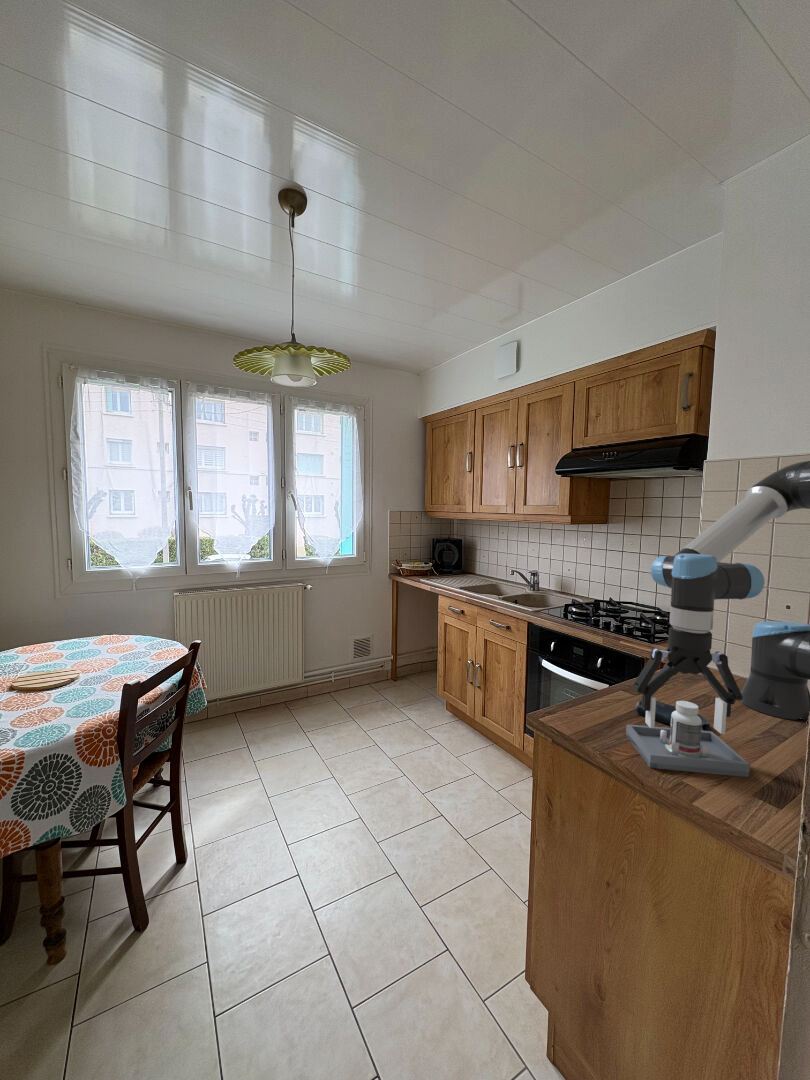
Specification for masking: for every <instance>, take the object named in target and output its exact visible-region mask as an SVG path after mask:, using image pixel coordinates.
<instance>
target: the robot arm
mask: <svg viewBox="0 0 810 1080" xmlns="http://www.w3.org/2000/svg"><path fill="white" fill-rule="evenodd" d="M800 509H801V510H802V509H806V510H809V509H810V460H807V461H800V462H796V463H793V464H790V465H787V466H784V467H783V468H780V469H779V470H776V471H774V472H773V473H771V474H769V475H767V476H765V477H764V478H763V479H761V480H759V481H758V482H757V483H755V484H754V485H753V486H751V487H750V488H749V489H748V490H746V492H745V494H744V498H743V499H742V500H741V501H740V502H738V503H736V505H734V506H733V507H732V508H731V509H730V510H729V511H727V512H726V513H724V514H723V515H722V516H721V517H720V518H718V519H717V520H716V521H715V522H714V523H713V524H711V525H710V526H709V527H708V528H706V529H705V530H704V531H703V532H701V533H700V534H699V535H698V536H696V537H695V538H694V539H693V540H691V542H689V543H688V544H686V545H685V546H684V547H683V548H681V549H680V550H679V551H678V552H677V553H675V554H674V555H673V556H671V555H661V556H658V557H657V558H655V559H654V560H653V562H652V564H651V566H650V575H651V578H652V580H653V581H654V582H655V583H656V584H657V585H660V586H662V587H666V588H669V589H671V593H670V595H671V596H670V610H669V624H670V627H668V639H667V641H668V642H667V643H668V645H667V647H668V648H667V649H666V650H661V649H658V648H656V647H652V648H651V651H650V654H649V655H650V657H649V659H648V661H646V663H645V665H644V667H643V668H642V670H641V672H640V673H639V674H638V676H637V678H636V680H635V681H634V682H633V684H632V687H633V689H634V690H636V692H637V693H639V694H641V700H642V708H643V709H644V710H645V711H646V716H645V719H644V721H645V723H646V726H649V727H650V728H654V727H655V722H656V720H655V707H656V701H657V698H656V696H654V694H656V692H658V690H660V689H661V688H662V687H663V686H664V685H665V684H666V683H667V682H668V681H669V680H670V679H671V678H673V676H676V675H677V674H678V673H681V674H683V675H684V674H693V675H699V674H701V675H702V676H703V677H704V679H705V680H706V681H707V682H708V683H709V684H710V686H711V688H713V690H714V691H715V692H716V694H717V695H718V696H719V697H715V700H714V701H715V702H714V717H713V718H714V719H713V729H714V730H716V731H717V732H718V733H719V734H721V735H726V728H727V727H726V725H727V723H726V722H727V718H730V716H731V712H732V710H731V709H732V705H734V704H735V703H736V701H740V702H741V703H742V704H743V705H745V706H746V707H748V708H750V709H751V710H754V711H756V712H759V713H762V714H764V715H769V716H772V717H778V718H781V719H787V720H794V721H798V720H797V719H800V718H801V719H803V720H802V721H809V720H808V716H809V711H810V689H809V687H808V686H809V685H808V683H809V681H810V624H807V623H802V622H795V621H794V622H792V621H777V620H776V621H770V620H769V621H758V622H757V623H755V624H754V626H753V630H752V631H753V632H752V636H751V638H752V639H751V643H752V644H751V655H750V656H751V659H750V672H749V676H748V677H747V679H746V681H745V683H744V685H743V687H742V689H740V688H739V686H738V683H737V682H736V680H735V677H734V675H733V673H732V671H731V669H730V666H729V658H728V657H729V656H728V655H726V654H724V653H723V652H720V651H719V650H718V651H715V652H714V653H711V649H712V642H713V641H712V640H713V633H711V631H712V630H713V629H714V611H715V600H740V601H741V600H745V599H751V598H752V599H753V598H755V597H757V596H759V595H760V594H761V593H762V592H763V590H764V588H765V576H764V574H763V573H762V571H761V570H760V569H759V568H758V567H757V566H755V565H753V564H750V563H743V562H742V563H741V562H736V563H730V562H728V563H727V562H721V561H723V560H724V559H725V558H727V556H729V555H730V554H731V553H733V551H736V549H737V548H738V547H740V546H741V545H742V544H743V543H744V542H746V540H748V539H749V538H750V537H752V536H753V535H754V534H755V533H756V532H758V531H759V530H760V529H761V528H763V527H764V526H765V525H766V524H768V523H769V522H770V521H771V520H773V519H778V518H782V517H783V516H784V515H785V514H786V513H788V512H791V511H794V510H800ZM665 658H666V659H667V660H668V661H667V662H666V663H665V664H664V665H663V667H662V668H661V669H660V670H659V671H658V672H657V673H656V671H657V670H658V669H659V667H660V665H661V663H662V662H663V661H664V660H665ZM711 662H713V663H714V664H715V666H716V668H717V669H718V673H719V674H720V676H721V679H722V681H723V683H724V685H725V687H726V689H725V688H724V686H723V685H722V684H721V682H720V681H719V680H718V679H717V678H716V676H715V675H714V673H713V672H712V670H711V669H710V668H709V667H708V665H709V664H710V663H711ZM655 673H656V674H655ZM805 719H806V720H805Z"/></svg>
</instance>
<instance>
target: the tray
mask: <svg viewBox="0 0 810 1080" xmlns="http://www.w3.org/2000/svg"><path fill="white" fill-rule="evenodd" d="M625 729H626V730H625V737H626V738H627V739H628V741H629V742H630V743H631V744H632V746H633V747H634V748H635V750H636V751H637V753H638V754H639V755H640V756H641V758H642V759H643V760H644V762H645V763H646V764H647V766H648V767H649V768H650V769H657V770H658V769H659V770H669V771H670V770H671V771H679V772H680V771H682V772H690V773H701V774H713V775H721V776H731V777H732V776H733V777H743V778H750V768H751V764H750V763H749V762H748V761H747V760H746V759H744V757H742V755H740V754H739V753H737V751H735V750H734V749H733V748H732V747H731V746H730V745H728V744H727V743H726V742H725V741H724V740H723V739H722V738H720V737H719V736H718V735H717V734H716V733H715V732H714V731H710V730H709V731H706V730H704V731H701V737H700V750H699V754H698V755H695V756H689V755H684V754H681V753H679V744H678V743H675V742H673V743H672V748H671V747H670V727H661V726H654V728H650V727H649V726H648V725H637V724H626V728H625Z"/></svg>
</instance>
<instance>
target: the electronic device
mask: <svg viewBox="0 0 810 1080" xmlns="http://www.w3.org/2000/svg"><path fill="white" fill-rule="evenodd" d="M634 711H636V713H637V714H638V715H641V716H646V711H645V710H644V709H643V708H642V699H641V700H639V701H638V702H636V705H635V709H634ZM673 711H676V705H671V704H669V703H665V702H661V701H657V700H656V707H655V721H658V722H660V723H664V724H667V725H669V726H670V727H671V714H672V712H673ZM697 716H699V717H700V718H701V721H702V725H701V731H710V729H711V725H710V722H709V721H708V720H707V719H706V718H705V717H704V716H702V715H700V714H699V713H698V714H697ZM703 728H704V729H705V730H704V729H703Z"/></svg>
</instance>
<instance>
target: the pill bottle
mask: <svg viewBox="0 0 810 1080" xmlns="http://www.w3.org/2000/svg"><path fill="white" fill-rule="evenodd" d="M675 707H676V711H673V712H672V714H671V726H670V727H669V728H670V747H671V748H672V743H673V742H675V743H678V744H679V753H681V754H684V755H689V756H695V755H698V754H699V750H700V737H701V725H702V721H701V718H700V717H699V716H697V714H698V715H699V712H700V711H699V710H700V709H699V706H698V704H696V703H695V702H690V701H686V700H677V701H676V702H675Z"/></svg>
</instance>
